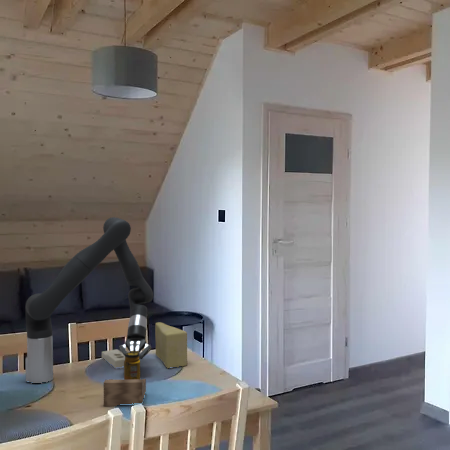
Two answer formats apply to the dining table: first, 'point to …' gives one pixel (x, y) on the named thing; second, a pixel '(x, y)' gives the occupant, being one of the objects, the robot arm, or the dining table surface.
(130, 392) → the dark wood block
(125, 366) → the condiment
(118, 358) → the electrical outlet
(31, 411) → the dining table surface
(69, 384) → the dining table surface
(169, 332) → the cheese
